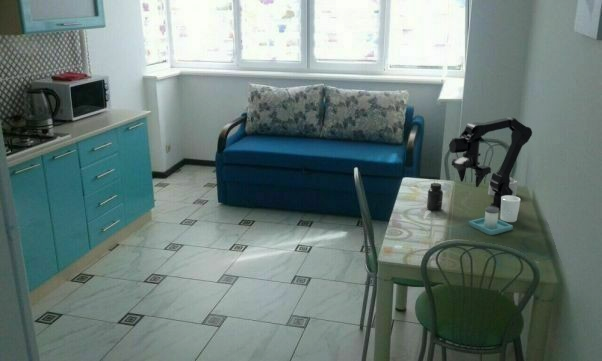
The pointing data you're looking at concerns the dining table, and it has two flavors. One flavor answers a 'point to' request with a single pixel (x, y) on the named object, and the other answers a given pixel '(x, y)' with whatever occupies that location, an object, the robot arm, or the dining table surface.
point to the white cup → (509, 208)
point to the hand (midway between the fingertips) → (469, 184)
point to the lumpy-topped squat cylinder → (512, 186)
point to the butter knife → (426, 214)
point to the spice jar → (491, 217)
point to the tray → (480, 226)
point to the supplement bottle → (435, 197)
